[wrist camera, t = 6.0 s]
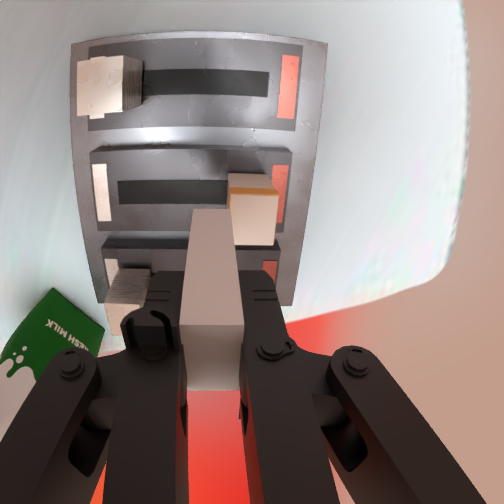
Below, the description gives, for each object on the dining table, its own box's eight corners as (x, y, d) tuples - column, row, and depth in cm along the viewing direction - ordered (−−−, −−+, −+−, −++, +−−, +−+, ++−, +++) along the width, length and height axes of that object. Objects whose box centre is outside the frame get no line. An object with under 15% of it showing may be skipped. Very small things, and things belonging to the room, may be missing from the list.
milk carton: (116, 330, 29) (75, 520, 12) (76, 363, 32) (37, 516, 14) (50, 275, 26) (-42, 460, 8) (19, 318, 28) (-48, 468, 11)
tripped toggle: (227, 172, 19) (229, 193, 15) (268, 173, 19) (279, 195, 16) (225, 215, 20) (227, 245, 17) (264, 216, 21) (274, 246, 17)
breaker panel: (82, 46, 17) (26, 36, 10) (318, 46, 19) (365, 32, 12) (103, 289, 27) (78, 351, 20) (287, 291, 29) (307, 356, 22)
